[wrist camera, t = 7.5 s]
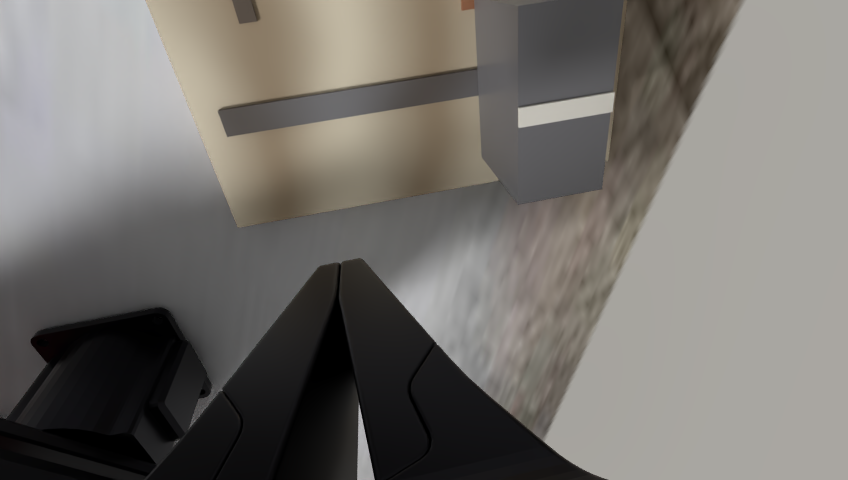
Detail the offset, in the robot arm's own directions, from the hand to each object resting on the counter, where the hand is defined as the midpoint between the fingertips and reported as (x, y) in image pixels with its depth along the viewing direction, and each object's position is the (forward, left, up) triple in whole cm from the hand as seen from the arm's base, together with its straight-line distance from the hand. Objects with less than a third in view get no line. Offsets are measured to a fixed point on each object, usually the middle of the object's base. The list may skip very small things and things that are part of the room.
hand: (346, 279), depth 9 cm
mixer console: (+3, +1, -12) cm, 12 cm away
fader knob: (+7, +1, -10) cm, 12 cm away
